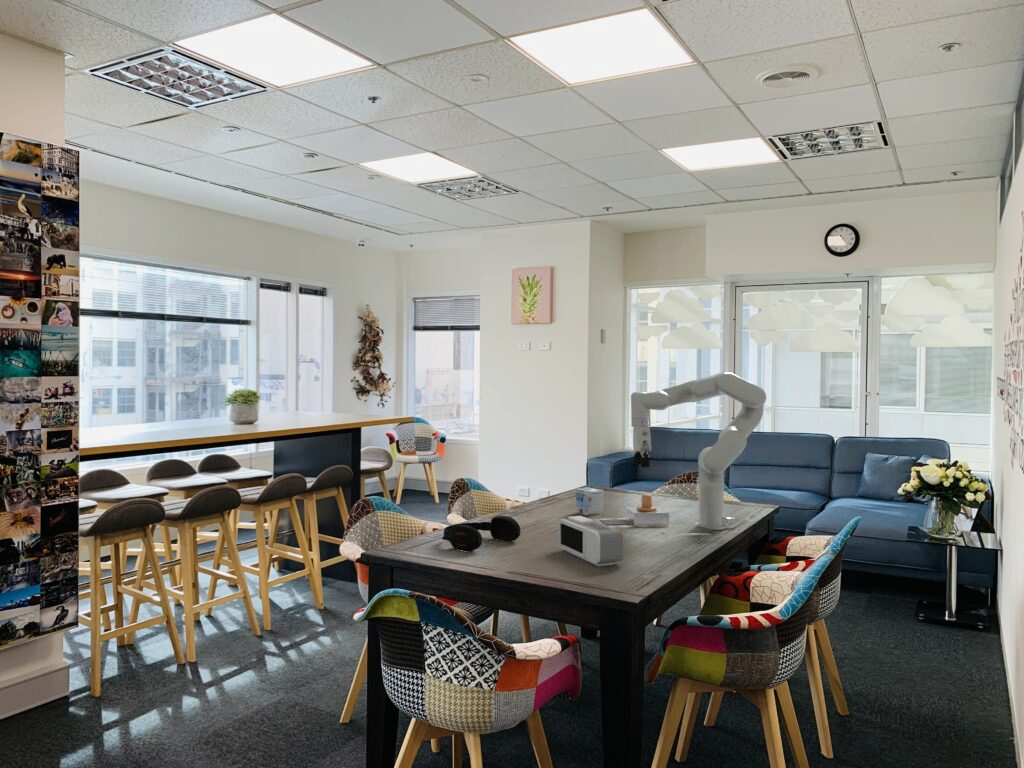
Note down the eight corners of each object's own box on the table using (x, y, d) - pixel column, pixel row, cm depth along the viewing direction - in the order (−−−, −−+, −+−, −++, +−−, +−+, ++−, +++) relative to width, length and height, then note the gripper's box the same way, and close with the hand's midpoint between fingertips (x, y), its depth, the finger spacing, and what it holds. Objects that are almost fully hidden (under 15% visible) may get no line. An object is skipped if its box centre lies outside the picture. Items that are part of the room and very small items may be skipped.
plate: (659, 520, 320) (659, 505, 320) (673, 529, 302) (673, 513, 302) (592, 521, 317) (592, 506, 317) (602, 530, 300) (602, 514, 299)
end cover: (653, 520, 315) (653, 493, 315) (658, 524, 307) (658, 496, 307) (634, 520, 314) (635, 493, 314) (639, 524, 306) (640, 496, 306)
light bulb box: (575, 513, 336) (575, 488, 336) (587, 511, 340) (587, 487, 340) (592, 516, 327) (592, 491, 327) (603, 515, 331) (604, 490, 331)
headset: (506, 557, 256) (506, 531, 256) (430, 552, 263) (431, 526, 262) (525, 539, 284) (525, 515, 283) (456, 535, 290) (456, 511, 290)
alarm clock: (558, 550, 266) (558, 515, 266) (582, 548, 270) (582, 513, 270) (597, 569, 241) (597, 531, 241) (623, 566, 245) (623, 528, 244)
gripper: (656, 424, 301) (657, 468, 301) (643, 421, 318) (644, 463, 318) (638, 424, 300) (638, 468, 300) (625, 421, 317) (626, 463, 317)
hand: (641, 465), depth 309 cm, fingers open, 9 cm apart
